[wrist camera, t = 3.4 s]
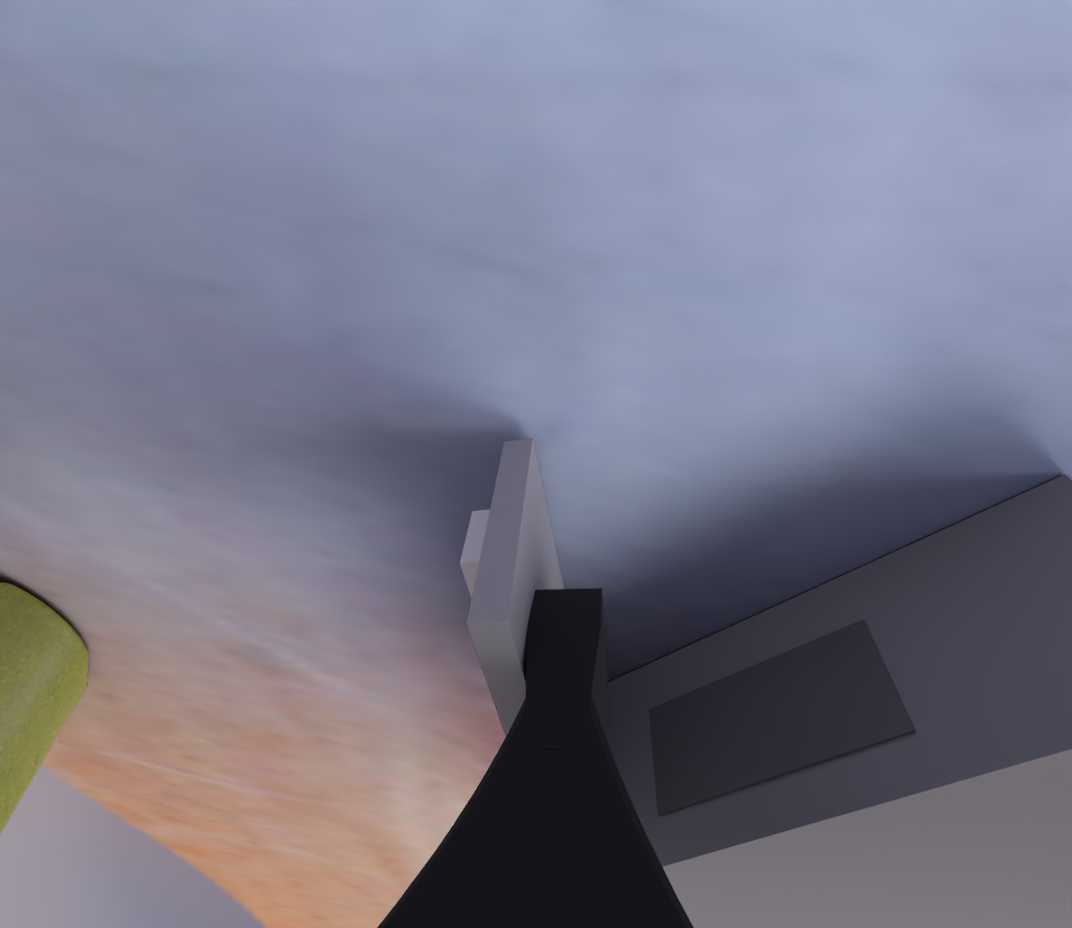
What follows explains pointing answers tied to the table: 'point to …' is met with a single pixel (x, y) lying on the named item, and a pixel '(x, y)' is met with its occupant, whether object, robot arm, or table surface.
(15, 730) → the plant pot
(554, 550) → the side door
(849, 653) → the camera body
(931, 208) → the table surface
